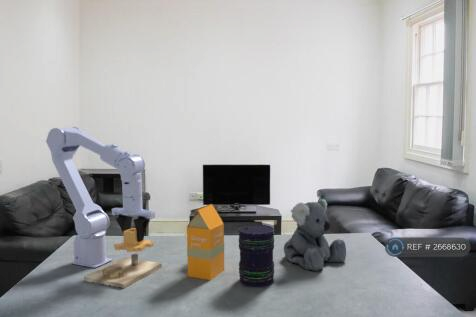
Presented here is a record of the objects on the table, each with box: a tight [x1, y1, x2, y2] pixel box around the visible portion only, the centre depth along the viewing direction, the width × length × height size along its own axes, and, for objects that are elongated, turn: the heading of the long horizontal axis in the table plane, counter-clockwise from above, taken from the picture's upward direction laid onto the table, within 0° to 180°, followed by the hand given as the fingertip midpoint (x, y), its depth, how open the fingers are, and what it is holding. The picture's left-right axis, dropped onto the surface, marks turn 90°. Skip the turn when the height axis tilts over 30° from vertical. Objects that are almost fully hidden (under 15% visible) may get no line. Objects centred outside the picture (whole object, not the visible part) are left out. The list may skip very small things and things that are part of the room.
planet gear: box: [113, 227, 154, 253], centre depth 137 cm, size 10×10×5 cm
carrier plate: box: [83, 253, 162, 289], centre depth 133 cm, size 14×18×4 cm
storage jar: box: [238, 224, 275, 289], centre depth 126 cm, size 10×10×15 cm
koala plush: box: [283, 198, 347, 272], centre depth 142 cm, size 17×18×20 cm
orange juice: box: [186, 203, 225, 281], centre depth 132 cm, size 8×9×20 cm
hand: (134, 240), depth 137 cm, fingers closed on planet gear, 4 cm apart
